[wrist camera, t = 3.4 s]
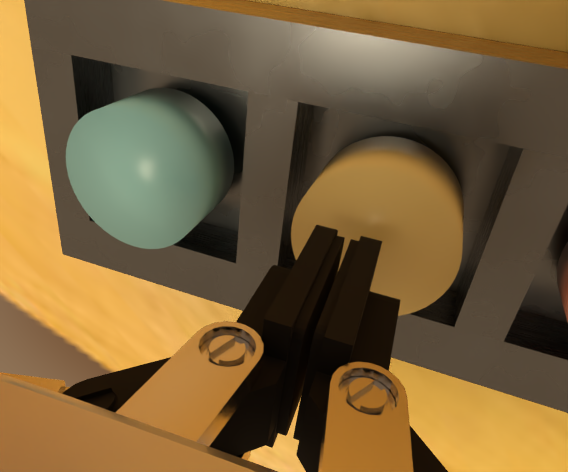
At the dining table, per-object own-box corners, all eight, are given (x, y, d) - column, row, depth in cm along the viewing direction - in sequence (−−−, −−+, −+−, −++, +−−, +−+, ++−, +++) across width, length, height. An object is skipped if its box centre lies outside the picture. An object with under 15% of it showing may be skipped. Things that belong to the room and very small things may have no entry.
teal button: (238, 102, 15) (200, 125, 13) (230, 228, 18) (196, 265, 16) (111, 75, 16) (56, 92, 14) (120, 198, 19) (74, 228, 17)
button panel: (934, 111, 12) (1058, 152, 9) (703, 393, 17) (743, 467, 14) (86, -26, 17) (20, -24, 15) (108, 221, 22) (62, 254, 20)
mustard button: (485, 155, 14) (487, 191, 11) (439, 285, 16) (434, 336, 14) (326, 121, 15) (301, 149, 12) (306, 249, 17) (282, 290, 15)
